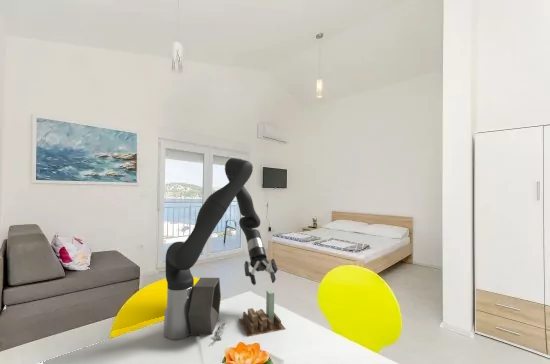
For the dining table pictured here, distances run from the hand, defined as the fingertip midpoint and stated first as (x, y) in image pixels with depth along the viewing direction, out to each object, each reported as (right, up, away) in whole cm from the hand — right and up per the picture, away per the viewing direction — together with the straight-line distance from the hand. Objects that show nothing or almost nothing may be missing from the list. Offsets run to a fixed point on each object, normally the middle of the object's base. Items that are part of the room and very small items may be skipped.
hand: (264, 283), depth 113 cm
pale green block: (+3, -13, -7) cm, 15 cm away
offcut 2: (-1, -13, -9) cm, 15 cm away
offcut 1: (-4, -13, -10) cm, 17 cm away
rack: (-1, -14, -9) cm, 16 cm away
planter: (-22, -14, -10) cm, 28 cm away
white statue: (-16, -14, -18) cm, 28 cm away
